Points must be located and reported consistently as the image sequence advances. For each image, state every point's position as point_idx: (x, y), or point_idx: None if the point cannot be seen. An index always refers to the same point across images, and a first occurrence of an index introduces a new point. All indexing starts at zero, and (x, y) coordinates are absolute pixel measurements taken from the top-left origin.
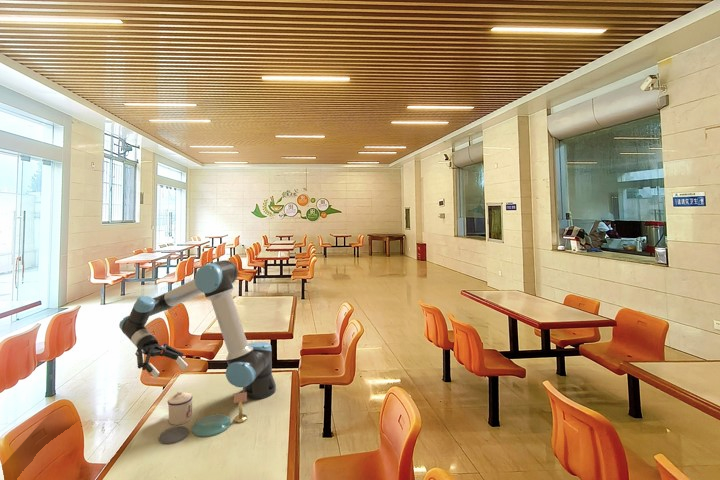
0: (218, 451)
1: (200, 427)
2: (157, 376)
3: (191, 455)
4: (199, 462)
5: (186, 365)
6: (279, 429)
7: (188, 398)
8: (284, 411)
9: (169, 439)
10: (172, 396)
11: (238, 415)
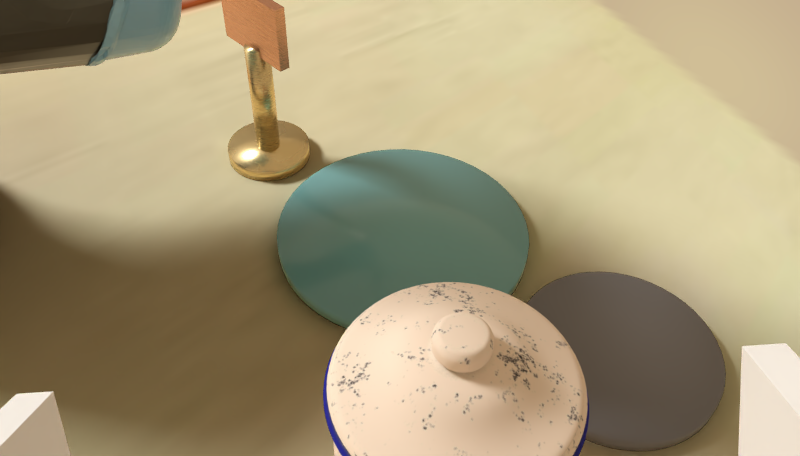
0: (550, 96)
1: (466, 259)
2: (748, 434)
3: (650, 161)
4: (653, 111)
5: (51, 396)
6: (287, 7)
7: (434, 284)
8: None
9: (675, 324)
10: (507, 442)
11: (251, 164)
